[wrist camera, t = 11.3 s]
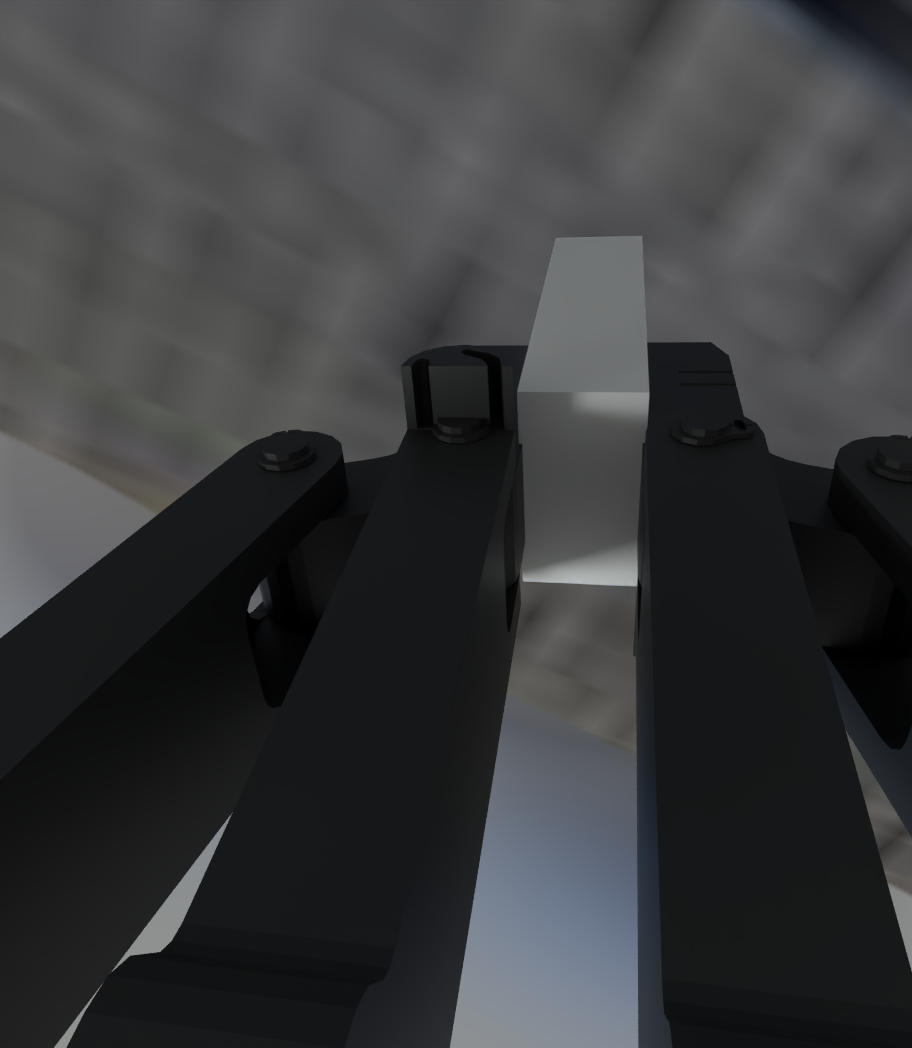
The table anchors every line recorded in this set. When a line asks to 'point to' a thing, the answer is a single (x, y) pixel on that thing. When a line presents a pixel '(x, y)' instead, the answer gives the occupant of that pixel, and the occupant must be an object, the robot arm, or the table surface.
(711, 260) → the table surface
